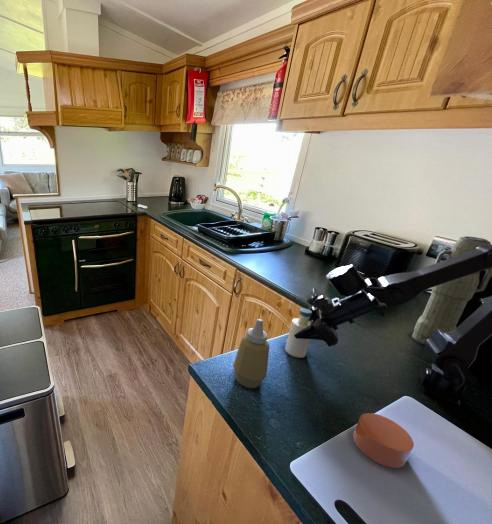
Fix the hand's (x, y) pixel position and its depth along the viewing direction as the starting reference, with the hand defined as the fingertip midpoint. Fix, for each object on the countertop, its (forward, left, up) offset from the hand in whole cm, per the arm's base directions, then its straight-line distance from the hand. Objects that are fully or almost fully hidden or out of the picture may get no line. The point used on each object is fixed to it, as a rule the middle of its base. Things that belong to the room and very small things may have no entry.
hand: (294, 331), depth 85 cm
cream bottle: (-1, 0, -7) cm, 7 cm away
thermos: (-33, -38, -7) cm, 51 cm away
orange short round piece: (-22, +22, -7) cm, 32 cm away
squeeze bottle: (+5, +22, -7) cm, 23 cm away
